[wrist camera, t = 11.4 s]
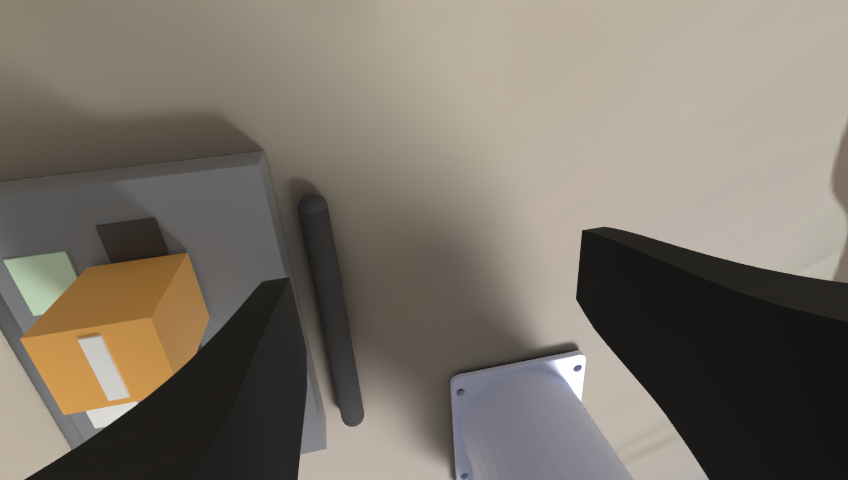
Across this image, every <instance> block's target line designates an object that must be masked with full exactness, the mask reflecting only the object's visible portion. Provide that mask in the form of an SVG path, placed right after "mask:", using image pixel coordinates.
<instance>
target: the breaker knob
mask: <svg viewBox="0 0 848 480" xmlns="http://www.w3.org/2000/svg"><path fill="white" fill-rule="evenodd" d="M209 318H210V317H209V314H208V311H207V308H206V305H205V302H204V299H203V296H202V293H201V290H200V287H199V284H198V281H197V278H196V275H195V272H194V269H193V266H192V263H191V261H190V258H189V255H188V253H181V254H174V255H168V256H161V257H154V258H147V259H140V260H133V261H127V262H120V263H113V264H106V265H99V266H92V267H87V268H86V269H85V270H84V272H83V273H82V274H81V275H80V276H79V277H78V278H77V279H76V280H75V281H74V282H73V283H72V284H71V285H70V286H69V287H68V288H67V289H66V291H65V292H64V293H63V294H62V295H61V296H60V297H59V298H58V299H57V300H56V301H55V302H54V303H53V304H52V305H51V306H50V307H49V309H48V310H47V311H46V312H45V313H44V314H43V315H42V316H41V317H40V318H39V319H38V320H37V321H36V322H35V323H34V324H33V325H32V326H31V328H30V329H29V330H28V331H27V332H26V333H25V334H24V335H23V336H22V337H21V338H20V340H21V342H22V344H23V346H24V347H25V349H26V351H27V352H28V354H29V356H30V358H31V359H32V361H33V363H34V365H35V366H36V368H37V370H38V372H39V373H40V375H41V377H42V378H43V380H44V382H45V384H46V385H47V387H48V389H49V391H50V392H51V394H52V396H53V397H54V399H55V401H56V403H57V404H58V406H59V408H60V410H61V411H62V413H63V415H67V414H73V413H78V412H83V411H88V410H94V409H99V408H104V407H110V406H115V405H120V404H125V403H131V402H136V401H141V400H144V399H145V398H146V397H147V396H149V395H150V394H151V393H152V392H154V391H155V390H156V389H157V388H158V387H160V386H161V385H162V384H163V383H164V382H166V381H167V380H168V379H169V378H170V377H172V376H173V375H174V374H175V373H176V372H177V371H178V370H179V369H181V368H182V367H183V366H184V365H185V364H186V363H187V362H188V361H189V360H190V359H191V358H192V357H193V356H194V355H195V354H196V353H197V350H198V347H199V345H200V342H201V339H202V337H203V334H204V331H205V329H206V326H207V323H208V321H209Z"/></svg>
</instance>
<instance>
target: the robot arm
mask: <svg viewBox="0 0 848 480" xmlns="http://www.w3.org/2000/svg"><path fill="white" fill-rule="evenodd" d="M576 300H577V301H578V303H579V305H580V306H581V308H582V310H583V312H584V313H585V315H586V317H587V318H588V320H589V321H590V323H591V324H592V326H593V327H594V329H595V330H596V332H597V333H598V334H599V335H600V336H601V338H602V339H603V340H604V341H605V343H606V344H607V345H608V346H609V347H610V348H611V350H612V351H613V352H614V353H615V354H616V356H617V357H618V358H619V359H620V360H621V361H622V363H623V364H624V365H625V366H626V367H627V368H628V370H629V371H630V372H631V373H632V374H633V375H634V377H635V378H636V379H637V380H638V381H639V382H640V384H641V385H642V386H643V387H644V388H645V389H646V391H647V392H648V393H649V394H650V395H651V396H652V398H653V399H654V400H655V401H656V403H657V404H658V405H659V407H660V408H661V409H662V410H663V412H664V413H665V414H666V416H667V417H668V419H669V420H670V421H671V423H672V424H673V426H674V427H675V429H676V430H677V432H678V433H679V434H680V436H681V437H682V439H683V440H684V442H685V443H686V445H687V446H688V448H689V449H690V450H691V452H692V454H693V455H694V457H695V458H696V460H697V461H698V463H699V464H700V466H701V468H702V469H703V471H704V472H705V474H706V475H707V477H708V478H709V480H848V283H842V282H835V281H828V280H821V279H815V278H809V277H803V276H797V275H792V274H787V273H782V272H777V271H772V270H767V269H762V268H757V267H753V266H749V265H744V264H740V263H736V262H733V261H729V260H725V259H721V258H717V257H713V256H710V255H706V254H702V253H699V252H695V251H692V250H689V249H685V248H682V247H678V246H675V245H672V244H668V243H665V242H662V241H658V240H655V239H652V238H648V237H645V236H642V235H638V234H635V233H631V232H627V231H623V230H619V229H615V228H609V227H600V228H594V229H588V230H582V239H581V250H580V261H579V272H578V283H577V294H576ZM585 363H586V357H585V356H584V354H583V353H582V352H581V351H573V352H568V353H563V354H558V355H553V356H548V357H543V358H538V359H533V360H528V361H523V362H518V363H513V364H508V365H503V366H498V367H493V368H488V369H483V370H478V371H473V372H468V373H463V374H458V375H455V376H454V377H452V379H451V380H450V391H451V407H452V424H453V441H454V458H455V475H456V480H634V479H633V477H632V476H631V474H630V473H629V472H628V470H627V469H626V467H625V466H624V464H623V463H622V461H621V460H620V458H619V457H618V455H617V454H616V452H615V451H614V450H613V448H612V447H611V445H610V444H609V442H608V441H607V439H606V438H605V436H604V435H603V433H602V432H601V430H600V429H599V428H598V426H597V425H596V423H595V422H594V420H593V419H592V417H591V416H590V414H589V413H588V411H587V410H586V408H585V407H584V406H583V404H582V403H581V399H582V390H583V381H584V372H585ZM576 365H577V366H576ZM575 366H576V367H575ZM459 389H462V390H460V391H457V390H459ZM306 395H307V353H306V345H305V340H304V336H303V332H302V327H301V323H300V319H299V315H298V310H297V306H296V302H295V298H294V293H293V289H292V285H291V281H290V277H287V278H280V279H274V280H268V281H262V282H261V283H260V284H259V285H258V287H257V288H256V289H255V290H254V291H253V292H252V293H251V295H250V296H249V297H248V298H247V299H246V301H245V302H244V303H243V304H242V305H241V306H240V308H239V309H238V310H237V311H236V312H235V313H234V314H233V315H232V317H231V318H230V319H229V320H228V321H227V322H226V323H225V324H224V326H223V327H222V328H221V329H220V330H219V331H218V332H217V333H216V334H215V335H214V336H213V337H212V338H211V339H210V340H209V341H208V342H207V343H206V344H205V345H204V346H203V347H202V348H201V349H200V350H199V351H198V352H197V353H196V354H195V355H194V356H193V357H192V358H191V359H190V360H189V361H188V362H187V363H186V364H185V365H184V366H183V367H182V368H181V369H179V370H178V371H177V372H176V373H175V374H174V375H173V376H172V377H170V378H169V379H168V380H167V381H166V382H164V383H163V384H162V385H161V386H160V387H158V388H157V389H156V390H155V391H154V392H152V393H151V394H150V395H149V396H147V397H146V398H145V399H144V400H142V401H141V402H140V403H138V404H137V405H136V406H134V407H133V408H131V409H130V410H129V411H127V412H126V413H125V414H123V415H122V416H120V417H119V418H118V419H116V420H115V421H113V422H112V423H111V424H109V425H108V426H107V427H105V428H104V429H102V430H101V431H100V432H98V433H97V434H96V435H94V436H93V437H91V438H90V439H88V440H87V441H85V442H84V443H82V444H81V445H79V446H78V447H76V448H74V449H73V450H71V451H70V452H68V453H67V454H65V455H64V456H62V457H61V458H59V459H57V460H56V461H54V462H53V463H51V464H49V465H48V466H46V467H44V468H43V469H41V470H39V471H38V472H36V473H35V474H33V475H31V476H30V477H28V478H26V479H25V480H298V469H299V460H300V451H301V442H302V433H303V423H304V414H305V404H306Z"/></svg>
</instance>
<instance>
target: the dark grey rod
mask: <svg viewBox="0 0 848 480" xmlns="http://www.w3.org/2000/svg"><path fill="white" fill-rule="evenodd" d="M298 209H299V215H300V220H301V225H302V229H303V234H304V239H305V244H306V249H307V253H308V258H309V263H310V268H311V273H312V277H313V282H314V287H315V292H316V297H317V302H318V306H319V311H320V316H321V321H322V326H323V330H324V335H325V340H326V345H327V350H328V354H329V359H330V364H331V369H332V374H333V379H334V383H335V388H336V393H337V398H338V403H339V407H340V412H341V417H342V420H343V422H344V423H345V424H346V425H347V426H350V427H354V426H357V425H359V424H360V423H361V422H362V420H363V417H364V410H363V404H362V399H361V393H360V387H359V382H358V376H357V370H356V365H355V359H354V353H353V348H352V342H351V336H350V331H349V325H348V319H347V314H346V308H345V302H344V297H343V291H342V285H341V280H340V274H339V268H338V263H337V257H336V251H335V246H334V240H333V234H332V229H331V223H330V217H329V212H328V206H327V203H326V201H325V199H324V198H323V197H321V196H320V195H318V194H308V195H306V196H304V197H303V198H302V199H301V200H300V202H299V206H298Z"/></svg>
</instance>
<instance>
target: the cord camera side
mask: <svg viewBox="0 0 848 480" xmlns="http://www.w3.org/2000/svg"><path fill="white" fill-rule="evenodd" d="M0 329H1V331H2V333H3V334H4V336H5V338H6V340H7V341H8V343H9V345H10V346H11V348H12V350H13V351H14V353H15V355H16V356H17V358H18V360H19V361H20V363H21V365H22V366H23V368H24V370H25V371H26V373H27V375H28V377H29V378H30V380H31V382H32V383H33V385H34V387H35V388H36V390H37V392H38V393H39V395H40V397H41V398H42V400H43V402H44V403H45V405H46V407H47V408H48V410H49V412H50V414H51V415H52V417H53V419H54V420H55V422H56V424H57V425H58V427H59V429H60V430H61V432H62V434H63V435H64V437H65V439H66V440H67V442H68V444H69V445H70V447H71V449H72V450H73V449H74V448H76V447H78V446H79V445H81V444H82V443H84V442H85V440H84V439H83V437H82V435H81V433H80V432H79V430H78V428H77V426H76V425H75V423H74V421H73V419H72V418H71V416H70V414H67V415H63V413H62V411H61V410H60V408H59V406H58V404H57V403H56V401H55V399H54V397H53V396H52V394H51V392H50V391H49V389H48V387H47V385H46V384H45V382H44V380H43V378H42V377H41V375H40V373H39V372H38V370H37V368H36V366H35V365H34V363H33V361H32V359H31V358H30V356H29V354H28V352H27V351H26V349H25V347H24V346H23V344H22V342H21V340H20V338H21V337H22V336H23V335H24V333H23V332H22V330H21V328H20V326H19V325H18V323H17V321H16V319H15V318H14V316H13V314H12V312H11V311H10V309H9V307H8V305H7V304H6V302H5V300H4V298H3V297H2V295H1V293H0Z"/></svg>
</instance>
